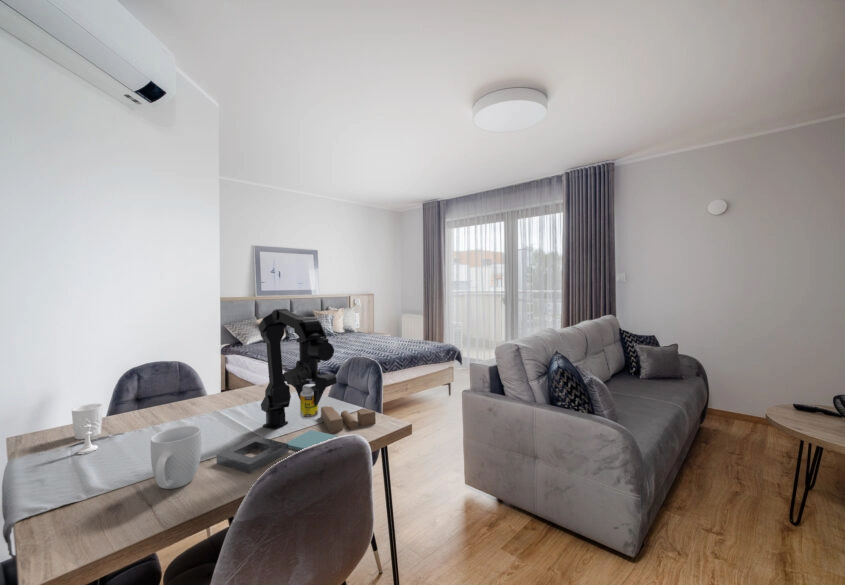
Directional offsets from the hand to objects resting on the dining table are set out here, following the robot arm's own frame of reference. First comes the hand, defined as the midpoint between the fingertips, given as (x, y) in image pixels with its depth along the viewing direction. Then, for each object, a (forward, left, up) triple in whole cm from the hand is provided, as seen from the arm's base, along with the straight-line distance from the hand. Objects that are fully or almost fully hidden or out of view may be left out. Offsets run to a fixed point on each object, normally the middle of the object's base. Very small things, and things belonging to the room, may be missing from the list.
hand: (309, 404), depth 117 cm
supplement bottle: (0, 0, -4) cm, 4 cm away
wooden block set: (-1, +21, -14) cm, 25 cm away
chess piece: (-61, -34, -13) cm, 71 cm away
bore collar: (-9, -15, -13) cm, 21 cm away
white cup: (-76, -28, -13) cm, 82 cm away
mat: (0, 0, -13) cm, 13 cm away
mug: (-15, -34, -13) cm, 39 cm away
